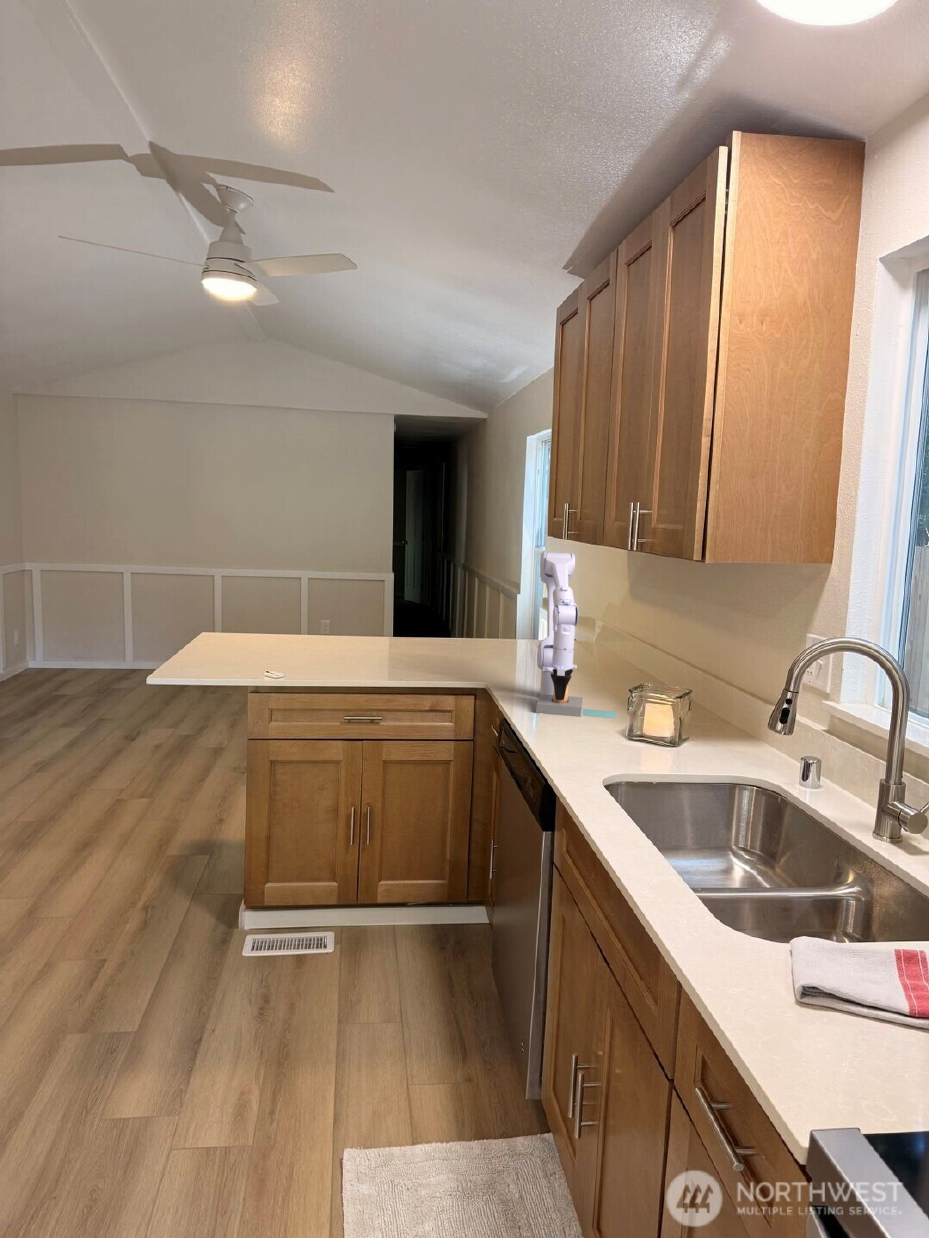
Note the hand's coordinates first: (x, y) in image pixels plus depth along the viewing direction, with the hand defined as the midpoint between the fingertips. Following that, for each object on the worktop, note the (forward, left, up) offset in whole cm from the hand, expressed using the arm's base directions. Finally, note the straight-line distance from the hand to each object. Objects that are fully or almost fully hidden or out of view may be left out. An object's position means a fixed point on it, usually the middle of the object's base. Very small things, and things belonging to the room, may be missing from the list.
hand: (560, 697), depth 235 cm
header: (0, 0, -4) cm, 4 cm away
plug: (0, 0, -3) cm, 3 cm away
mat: (+1, +11, -4) cm, 12 cm away
